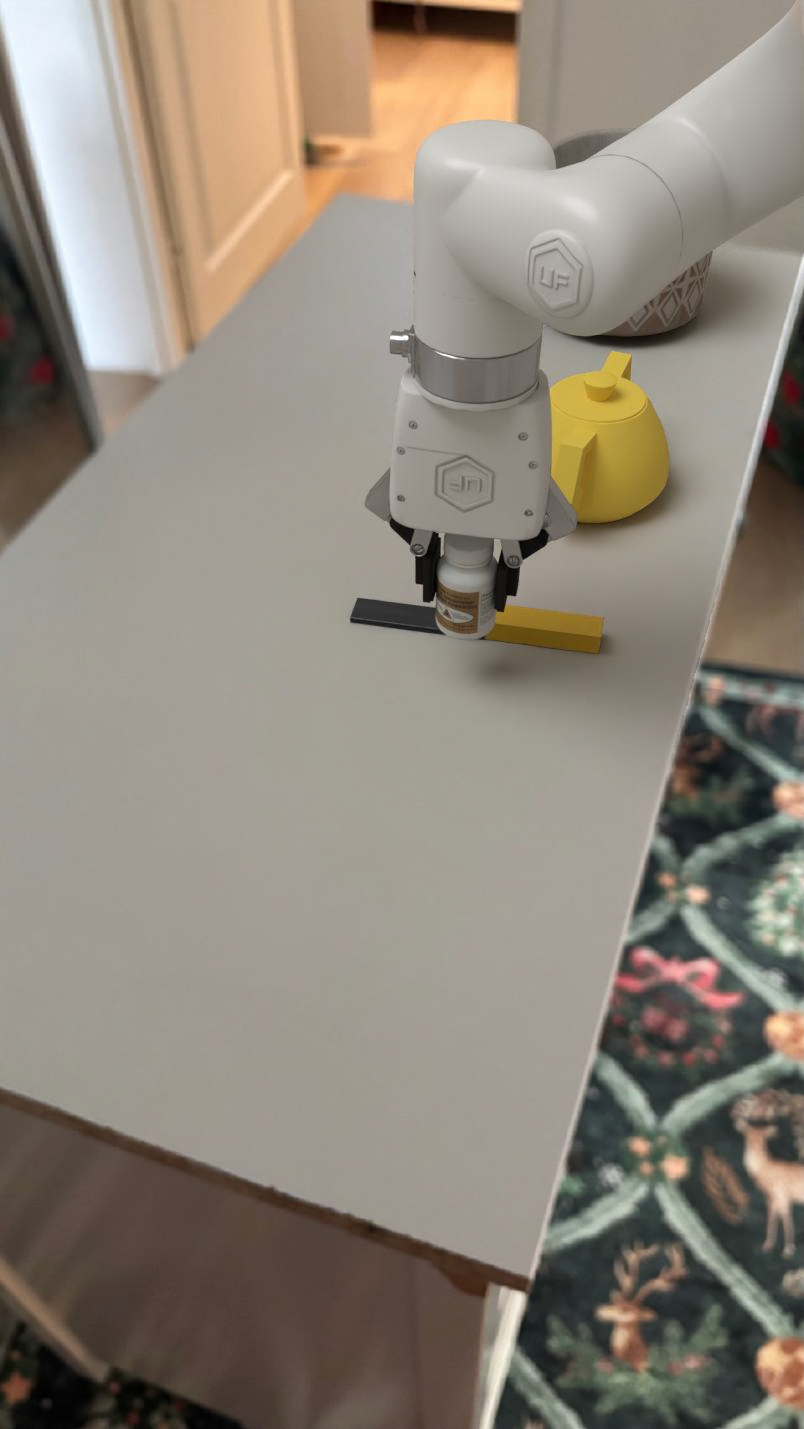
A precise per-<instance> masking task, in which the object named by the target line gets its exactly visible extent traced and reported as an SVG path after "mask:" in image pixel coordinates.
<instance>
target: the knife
mask: <svg viewBox="0 0 804 1429" xmlns="http://www.w3.org/2000/svg"><path fill="white" fill-rule="evenodd" d="M349 622H350V623H355V624H363V625H370V626H378V627H386V628H393V629H400V630H401V629H402V630H408V631H409V630H410V631H415V632H416V631H417V632H424V633H431V634H439V635H445V636H447V635H446V634H445V633H443V632H442V631H441V630H440V629H439V627H438V625H437V623H436V606H435V607H434V606H426V605H419V604H410V603H404V602H403V603H402V602H395V601H387V600H380V599H373V598H372V599H371V598H364V597H357V598H356V600H355V603H354V606H353V608H352V610H351V614H350V616H349ZM603 624H604V617H603V616H598V615H591V614H590V615H589V614H580V613H575V612H574V613H573V612H565V611H559V610H549V609H542V608H534V607H526V606H518V605H511V604H506V605H505V609H504V612H497V610H496V619H495V624H494V627H493V628H492V630H491V631H490V632H489V633H488V634H486V635H485V636H483V637H481V638H478V639H477V640H491V641H498V642H506V643H512V644H521V645H527V646H528V645H529V646H536V647H543V648H544V647H545V648H550V649H558V650H566V651H572V652H573V651H574V652H579V653H580V652H582V653H588V654H596V655H598V654H599V652H600V645H601V641H602V632H603Z"/></svg>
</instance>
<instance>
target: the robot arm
mask: <svg viewBox="0 0 804 1429" xmlns="http://www.w3.org/2000/svg"><path fill="white" fill-rule="evenodd" d="M635 129H636V130H634V131H632V132H631V133H629V134H628V135H626V136H624V137H623V138H621V139H619V140H617V141H615V142H614V143H612V144H610V145H609V146H607V147H606V148H604V149H602V150H601V151H599V152H598V153H596V154H595V155H593V156H591V157H590V158H588V159H587V160H585V161H583V162H579V163H576V164H573V165H569V166H566V167H563V168H559V169H556V161H555V155H554V152H553V149H552V147H551V143H550V142H549V140H548V139H547V138H546V137H544V136H543V135H542V134H541V133H540V132H539V131H537V130H536V129H533V128H532V127H529V126H526V125H522V124H519V123H516V122H511V121H505V120H497V119H472V120H464V121H459V122H455V123H452V124H448V125H445V126H442V127H439V128H437V129H436V130H434V131H433V132H432V133H430V134H429V135H428V136H427V137H425V138H424V139H423V141H422V142H421V144H420V145H419V147H418V148H417V152H416V155H415V160H414V163H413V178H412V179H413V180H412V183H413V185H412V186H413V189H412V190H413V193H412V194H413V196H412V202H413V204H412V206H413V207H412V208H413V210H412V211H413V215H412V216H413V217H412V218H413V220H412V223H413V227H412V228H413V230H412V231H413V235H412V236H413V324H411V327H410V329H404V330H403V331H399V330H392V331H391V333H390V337H389V354H391V355H398V356H399V355H400V356H401V357H402V358H407V361H408V364H409V366H408V367H407V369H406V370H405V372H404V374H403V375H402V377H401V379H400V382H399V386H398V391H397V396H396V401H395V402H396V403H395V407H394V416H393V426H392V437H391V451H390V466H389V468H388V469H387V470H386V471H385V472H384V474H383V475H381V477H380V478H379V479H378V480H377V481H376V482H375V484H373V485H372V487H371V488H370V489H369V491H368V493H367V495H366V498H365V500H364V507H365V508H366V509H367V510H369V512H371V513H373V515H375V516H377V517H378V518H379V519H381V520H382V521H383V522H387V523H389V527H390V529H392V530H393V531H394V533H396V535H398V536H399V537H400V538H401V539H402V541H404V542H405V543H407V545H409V552H410V554H411V555H413V556H414V558H415V559H414V560H415V562H414V563H415V564H414V574H415V575H414V576H415V577H414V580H415V581H414V582H415V585H421V586H422V603H427V604H431V603H432V602H434V600H435V598H436V568H437V563H438V561H439V559H440V557H441V556H442V537H440V536H439V535H440V533H441V534H445V533H449V534H457V535H466V536H474V537H483V538H492V539H494V540H499V541H500V545H501V549H500V553H499V557H498V560H497V562H498V565H497V571H496V586H495V601H494V609H496V610H497V612H504V609H505V605H507V601H508V597H514V598H515V597H517V595H518V591H519V585H520V573H521V566H522V565H523V562H524V560H526V559H528V558H529V557H531V556H533V555H534V554H535V553H537V552H539V551H541V549H543V548H545V547H547V544H548V543H551V542H555V541H557V540H559V539H561V538H564V537H566V536H569V535H572V533H574V532H575V531H576V530H577V525H578V522H577V520H578V515H577V513H576V512H575V510H574V509H573V507H572V506H571V504H570V503H569V501H568V500H567V499H566V497H565V496H564V494H563V493H562V491H561V490H560V488H559V487H558V485H557V484H556V482H555V481H554V479H553V478H552V477H551V464H552V410H551V399H550V385H549V379H548V375H547V374H546V373H545V372H544V371H543V370H542V369H540V364H541V353H542V342H543V341H542V340H543V329H544V325H545V326H547V327H549V328H551V329H553V330H555V331H558V332H560V333H563V334H564V333H565V334H567V335H571V336H576V337H591V336H596V335H597V336H598V335H601V334H602V333H605V332H607V331H610V330H612V329H614V328H616V327H618V326H619V325H621V324H622V323H624V322H625V321H627V320H628V319H629V318H630V317H631V316H633V315H634V314H635V313H636V312H637V311H639V310H640V309H641V308H642V307H643V306H645V305H646V304H647V303H648V302H650V301H651V300H652V299H653V298H654V297H656V296H657V295H658V294H659V293H660V292H661V291H662V290H663V289H664V288H665V287H666V286H667V285H669V284H670V283H671V282H672V281H674V280H675V279H676V278H677V277H679V276H680V275H681V274H682V273H684V272H685V271H686V270H687V269H689V268H690V267H691V266H692V265H694V264H695V263H696V262H698V261H699V260H700V259H702V258H703V257H704V256H706V255H707V254H708V253H710V252H711V251H713V252H714V250H715V249H718V248H719V247H720V246H721V245H723V244H725V243H726V242H728V241H730V240H731V239H733V238H734V237H736V236H738V235H739V234H741V233H742V232H744V231H746V230H748V229H749V228H751V227H753V226H754V225H756V224H758V223H760V222H762V221H764V219H766V218H768V217H770V216H771V215H773V214H775V213H776V212H778V211H780V210H781V209H784V208H785V207H787V206H788V205H790V204H791V203H793V202H795V201H797V200H799V199H800V198H802V197H803V196H804V0H795V1H794V4H792V6H791V8H790V9H789V10H788V12H787V13H786V14H785V15H784V16H783V17H782V18H781V19H780V20H779V21H778V22H777V23H776V24H775V25H774V26H773V27H771V28H770V29H769V30H768V31H767V32H766V33H764V34H763V35H762V36H761V37H760V38H758V39H757V40H756V41H754V42H753V43H752V44H751V45H749V46H748V47H747V48H746V49H744V50H743V51H742V52H740V53H739V54H738V55H737V56H735V57H734V58H733V59H731V60H730V61H728V62H727V63H726V64H725V65H723V66H722V67H721V68H719V69H718V70H716V71H715V72H714V73H712V74H711V75H710V76H708V77H707V78H705V79H704V80H703V81H702V82H700V83H699V84H698V85H696V86H695V87H693V88H692V89H691V90H689V91H688V92H687V93H685V94H684V95H683V96H681V97H680V98H679V99H677V100H676V101H674V102H673V103H671V105H669V106H667V107H666V108H665V109H663V110H662V111H660V112H659V113H658V114H656V115H654V116H653V117H652V118H650V119H649V120H647V121H646V122H645V123H643V124H642V125H641V126H639V127H636V128H635ZM546 514H547V516H546Z"/></svg>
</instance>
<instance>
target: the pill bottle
mask: <svg viewBox="0 0 804 1429" xmlns="http://www.w3.org/2000/svg"><path fill="white" fill-rule="evenodd" d="M442 550H443V553H442V554H441V557H440V559H439V561H438V563H437V568H436V594H435V608H436V623H437V625H438V627H439V629H440V630H441V631H442V632H443V633H445V634H446V635H445V634H444V635H445V636H448V637H449V638H452V639H457V640H460V641H474V640H479V639H478V638H481V637H483V636H485V635H486V634H488V633H489V632H490V631H491V630H492V628H493V627H494V624H495V619H496V609H494V601H495V586H496V571H497V565H498V560H497V558H496V557H495V556H494V552H495V539H492V538H483V537H474V536H466V535H457V534H449V533H444V534H443V546H442Z"/></svg>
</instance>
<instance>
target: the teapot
mask: <svg viewBox="0 0 804 1429" xmlns="http://www.w3.org/2000/svg"><path fill="white" fill-rule="evenodd" d="M632 360H633V355H632V354H631V353H625V352H621V351H620V352H619V351H614V350H611V351H610V353H609V355H608V357H607V358H606V360H605V362H604V364H603V366H602V369H600V370H592V371H589V372H583V373H576V374H573V375H570V376H567V377H565V378H562V379H560V380H558V381H557V382H556V383H554V385H553V386H551V387H550V388H549V390H550V399H551V410H552V464H551V477H552V478H553V479H554V481H555V482H556V484H557V485H558V487H559V488H560V490H561V491H562V493H563V494H564V496H565V497H566V499H567V500H568V501H569V503H570V504H571V506H572V507H573V509H574V510H575V512H576V513H577V515H578V520H577V523H585V524H601V523H604V524H605V523H610V522H615V521H620V520H622V519H626V518H628V517H631V516H633V515H634V514H636V513H638V512H640V511H641V510H642V509H644V508H646V507H647V506H649V505H650V504H651V503H652V502H653V501H654V500H656V499H657V498H658V497H659V495H660V494H661V493H662V492H663V490H664V488H665V486H666V484H667V483H668V482H667V481H668V479H669V478H668V476H669V471H670V453H669V445H668V440H667V436H666V432H665V428H664V427H663V424H662V421H661V419H660V418H659V415H658V413H657V411H656V409H655V407H654V405H653V404H652V401H651V400H650V398H649V396H648V395H647V393H646V392H645V391H644V390H643V389H642V388H641V387H640V386H639V385H638V384H637V383H635V382H633V381H632V380H631V378H632V377H631V376H632Z"/></svg>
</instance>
